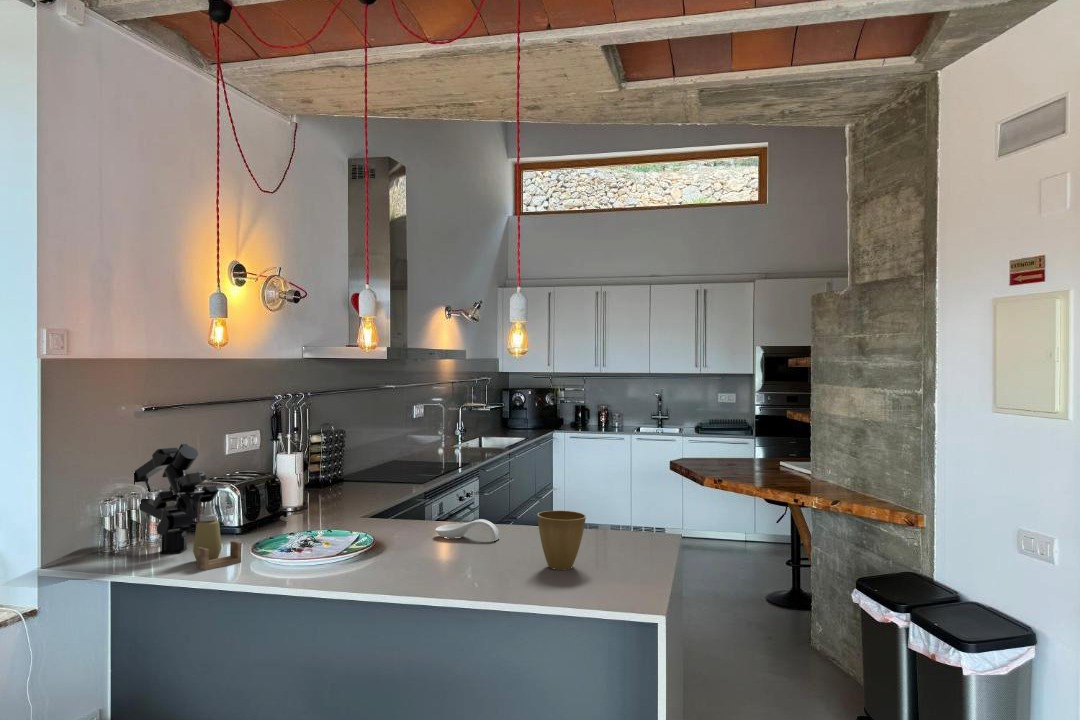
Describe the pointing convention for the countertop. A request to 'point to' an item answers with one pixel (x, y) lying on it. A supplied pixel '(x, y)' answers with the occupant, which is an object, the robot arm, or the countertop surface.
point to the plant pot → (561, 536)
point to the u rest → (208, 564)
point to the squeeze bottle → (208, 534)
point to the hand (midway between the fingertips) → (195, 517)
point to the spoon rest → (465, 529)
